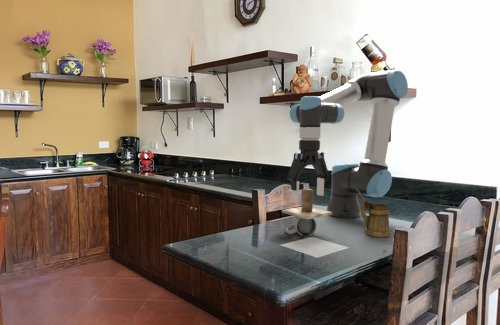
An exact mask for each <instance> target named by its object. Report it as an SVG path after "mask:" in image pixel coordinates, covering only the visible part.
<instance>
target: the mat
mask: <svg viewBox="0 0 500 325" xmlns="http://www.w3.org/2000/svg"><path fill="white" fill-rule="evenodd" d="M280 247H284V248H287V249H290V250H293V251H296V252H299V253H302V254H305V255H308V256H311V257H314V258H317V259H319V258H321V257H324V256H328V255H331V254H334V253H337V252H340V251H341V252H342V251H344V250H346V249H350V247H348V246H344V245H342V244H338V243H335V242H332V241H328V240H324V239H322V238H319V237H314V236H310V237H306V238H302V239H297V240H295V241H290V242H287V243H284V244H280Z"/></svg>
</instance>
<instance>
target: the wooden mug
mask: <svg viewBox="0 0 500 325" xmlns="http://www.w3.org/2000/svg"><path fill="white" fill-rule="evenodd" d="M355 188H356V190H357V191H358V193H359V194H358V195H360V197H361V199H363V202H362V204H361V206H360V211H361V217H362V219H363V221H364V222H365V229H364V233H365V234H366V236H369V237H374V238H379V237H384V238H389V237H391V235H392V234H391V229H390V221H389V214H390V210H389V206H388V204H386V203H372V202H370V201H368V200H367V199H366V197H365V195H363V194H362V193H361V191H360V190H359V188H358V187H357V186H355ZM366 211H367V212H368V213H369V214H368V215H367V214H366Z"/></svg>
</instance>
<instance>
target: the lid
mask: <svg viewBox="0 0 500 325" xmlns="http://www.w3.org/2000/svg"><path fill="white" fill-rule="evenodd" d="M313 202H314V189H313V188H312V189H311V188H302V189H301V206H298V207H293V208H286V209H285V208H284V209H282V210H281V213H282V214H286V215H289V216H293V217H296V216H297V217H300V218H304V219H312V218H314V219H316V218H323V217H328V216H331V215H332V212H330V211H327V210H326V209H325V210H324V209H321V208H316V207H313V205H314V204H313Z"/></svg>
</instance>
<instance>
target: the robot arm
mask: <svg viewBox="0 0 500 325" xmlns="http://www.w3.org/2000/svg"><path fill="white" fill-rule="evenodd" d="M408 87H409V84H408V80H407V78H406V75H405V74H404V73H403V72H402V71H401V70H399V69H395V70H392V69H389V70H385V71H384V70H382V71H375V72H366V73H363V74H361V75H359V76H357V77H354V78H352V79H350V80H348V81H346V82H344V85H342V86H340V87H338V88H336V89H334V90H332V91H330V92H326V93H325V94H322V95H321V96H315V95H314V96H313V95H312V96H311V95H309V96H308V95H307V96H306V95H305V96H302V97H301V98H300V102H299V103H298V104H294V105H293V106H292V107H291V108H290V110H289V117H290V120H291V121H292V122H293V123H295V124H299V137H298V138H299V139H300V140H299V141H298V149H299V151H300V153H298V152H295V153H294V154H293V159H292V162H291V165H290V168H289V170H288V173H287V176H286V179H287V180H289V181H290V183H291V185H290V188H291V189H290V190H291V199H292V200H297V201H298V200H300V181H299V179H300V177H301V175H302V173H303V172H304V170H305V169H306V168H307V167H308V166H312V167H313V168H314V170H315V172H316V174H317V178H316V195H317V196H320V197H321V196H322V197H323V196H324V195H325V193H324V190H325V185H326V184H325V179H328V177H329V175H330V173H329V169H328V167H327V163H326V160H325V153H324V152H323V151H320V149H321V140H320V139H321V124H333V125H334V124H339V123H341V122H342V121H343V119H344V116H345V108H344V107H343V106H345V105H347V104H349V103H350V102H352V103H356V102H357V101H361V100H370V102H371V103H372V104H373V107H372V114H371V119H370V125H369V129H368V136H367V141H366V148H365V153H364V159H363V160H361V161H359V163H357V162H356V163H343V164H342V163H341V164H335V165H332V167H331V168H332V169H331V180H330V181H331V183H330V184H331V185H330V186H331V188H330V191H331V193H330V199H329V201H328V204H327V208H326V211H330V212H332V215H330V216H332V217H335V218H344V219H346V218H348V219H351V218H352V219H353V218H358V217H362V215H361V211H360V209H361V206H360V202H359V200H358V195H360V194H359V193H358V191H357V190H356V188H355V186H357V187H358V188H359V190H360V191H361V193H362V194H363V196H368V197H371V198H372V197H375V198H377V197H378V198H381V197H383V196H385V195H386V194H387V193H388V192H389V191H390V189H391V186H392V183H393V177H392V174H391V172H390V171H389V170H388V169H389V166H388V164H387V163H386V159H387V154H388V148H389V142H390V136H391V130H392V124H393V119H394V118H393V117H394V113H395V108H396V107H397V106H398V105H399V104H400V99H403V98H405V97H406V95H407V94H408V91H409V90H408V89H409V88H408Z"/></svg>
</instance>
